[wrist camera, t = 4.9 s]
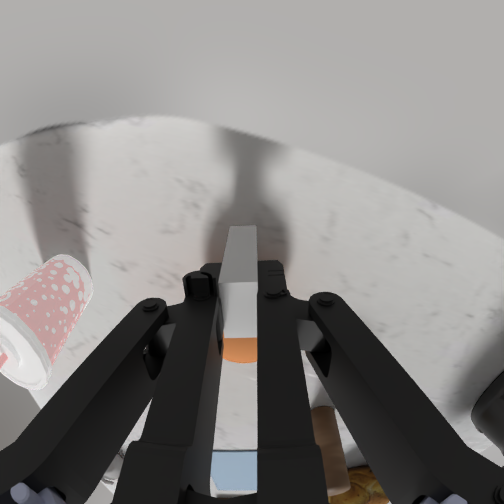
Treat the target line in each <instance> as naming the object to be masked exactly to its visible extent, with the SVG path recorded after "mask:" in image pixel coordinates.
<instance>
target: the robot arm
mask: <svg viewBox="0 0 504 504" xmlns="http://www.w3.org/2000/svg"><path fill="white" fill-rule="evenodd" d="M182 279H183V285H184V291H185V299H184V302H183V303H180V304H176V305H172V306H167V305H166V302H165V301H164V300H163V299H160V298H148V299H145V300H143V301H141V302H139V303H138V304H137V305H136V306H135V307H134V308H133V309H132V310H131V311H130V312H129V313H128V314H127V315H126V316H125V317H124V318H123V319H122V321H121V322H120V323H119V324H118V325H117V326H116V327H115V328H114V329H113V330H112V331H111V332H110V333H109V334H108V335H107V337H106V338H105V339H104V340H103V341H102V342H101V343H100V344H99V345H98V346H97V347H96V348H95V350H94V351H93V352H92V353H91V354H90V355H89V356H88V357H87V358H86V359H85V361H84V362H83V363H82V364H81V365H80V366H79V367H78V368H77V369H76V371H75V372H74V373H73V374H72V375H71V376H70V377H69V378H68V380H67V381H66V382H65V383H64V384H63V385H62V386H61V388H60V389H59V390H58V391H57V392H56V393H55V394H54V396H53V397H52V398H51V399H50V400H49V401H48V403H47V404H46V405H45V406H44V407H43V408H42V410H41V411H40V412H39V413H38V414H37V416H36V417H35V418H34V419H33V420H32V421H31V423H30V424H29V425H28V426H27V428H26V429H25V430H24V431H23V432H22V434H21V435H20V436H19V437H18V439H17V440H16V441H15V442H14V443H12V444H11V445H9V446H8V447H6V448H5V449H3V450H1V451H0V504H84V503H85V502H86V501H87V500H88V498H89V497H90V496H91V494H92V493H93V491H94V490H95V488H96V487H97V485H98V483H99V482H100V480H101V479H102V477H103V475H104V474H105V472H106V471H107V469H108V467H109V466H110V464H111V463H112V461H113V459H114V458H115V456H116V455H117V453H118V451H119V450H120V448H121V447H122V445H123V443H124V442H125V440H126V439H127V437H128V435H129V434H130V432H131V431H132V429H133V427H134V426H135V424H136V423H137V421H138V419H139V418H140V416H141V415H142V413H143V412H144V410H145V408H146V407H147V405H148V404H149V402H150V400H151V399H152V401H151V405H150V408H149V411H148V415H147V418H146V422H145V425H144V429H143V432H142V435H141V438H140V439H139V440H138V441H132V442H131V443H130V444H129V446H128V448H127V451H126V454H125V457H124V461H123V464H122V468H121V471H120V475H119V478H118V482H117V486H116V490H115V493H114V497H113V501H112V503H111V504H331V503H329V500H328V492H327V485H326V479H325V472H324V465H323V459H322V453H321V449H320V446H319V445H317V444H316V442H315V437H314V430H313V424H312V417H311V411H310V404H309V398H308V392H307V386H306V380H305V374H304V368H303V362H302V356H301V350H305V353H306V356H307V358H308V360H309V361H310V363H311V365H312V367H313V368H314V370H315V372H316V374H317V375H318V377H319V379H320V381H321V383H322V384H323V386H324V388H325V390H326V391H327V393H328V395H329V397H330V398H331V400H332V402H333V404H334V405H335V407H336V409H337V411H338V412H339V414H340V416H341V418H342V419H343V421H344V423H345V425H346V426H347V428H348V430H349V432H350V433H351V435H352V437H353V439H354V440H355V442H356V444H357V446H358V447H359V449H360V451H361V453H362V454H363V456H364V458H365V460H366V461H367V463H368V465H369V467H370V468H371V470H372V472H373V474H374V475H375V477H376V479H377V481H378V482H379V484H380V486H381V488H382V489H383V491H384V493H385V494H386V496H387V497H388V499H389V500H390V502H391V503H392V504H504V466H503V467H500V466H498V465H496V464H495V463H493V462H491V461H490V460H488V459H487V458H485V457H483V456H482V455H480V454H479V453H477V452H475V451H474V450H472V449H471V448H469V447H467V446H466V444H465V443H464V442H463V440H462V439H461V438H460V437H459V435H458V434H457V433H456V432H455V430H454V429H453V428H452V427H451V425H450V424H449V423H448V422H447V420H446V419H445V418H444V417H443V415H442V414H441V413H440V412H439V411H438V409H437V408H436V407H435V406H434V404H433V403H432V402H431V401H430V400H429V398H428V397H427V396H426V395H425V394H424V392H423V391H422V390H421V389H420V388H419V386H418V385H417V384H416V383H415V382H414V380H413V379H412V378H411V377H410V376H409V375H408V373H407V372H406V371H405V370H404V369H403V367H402V366H401V365H400V364H399V363H398V362H397V360H396V359H395V358H394V357H393V356H392V355H391V353H390V352H389V351H388V350H387V349H386V348H385V347H384V345H383V344H382V343H381V342H380V341H379V340H378V338H377V337H376V336H375V335H374V334H373V333H372V332H371V330H370V329H369V328H368V327H367V326H366V325H365V324H364V323H363V321H362V320H361V319H360V318H359V317H358V316H357V315H356V314H355V312H354V311H353V310H352V309H351V308H350V307H349V306H348V305H347V303H346V302H345V301H344V300H343V299H342V298H341V297H340V296H338V295H337V294H334V293H331V292H319V293H316V294H313V295H312V296H311V297H310V299H309V301H304V300H299V299H296V298H294V297H292V296H291V295H290V292H289V290H287V286H286V280H285V275H284V270H283V265H282V264H281V263H280V262H279V261H278V260H267V261H258V257H257V231H256V225H244V226H230V229H229V233H228V238H227V242H226V247H225V252H224V257H223V261H222V263H206V264H205V265H204V266H203V267H201V268H200V271H194V272H191V273H188V274H187V275H185V276H184V277H183V278H182ZM223 331H224V338H253V337H257V404H258V448H257V493H253V494H249V495H244V496H239V497H234V498H229V499H218V498H215V497H211V494H210V474H211V463H212V453H213V443H214V433H215V423H216V413H217V404H218V394H219V385H220V376H221V367H222V358H223V349H224V343H223ZM145 347H146V349H145ZM144 349H145V350H144ZM152 397H153V398H152ZM471 419H472V421H473V423H474V425H475V427H476V429H477V430H478V431H479V432H480V433H484V435H485V436H486V437H487V438H488V439H489V440H490V441H492V442H493V443H494V444H495V445H496V446H497V447H498V448H499V449H500V450H501V452H502V454H503V456H504V372H503V373H502V374H501V375H500V376H499V377H498V378H497V379H496V380H495V381H494V382H493V383H492V384H491V385H490V386H489V388H488V389H487V390H486V391H485V392H484V394H483V395H482V396H481V398H480V399H479V400H478V402H477V403H476V405H475V407H474V409H473V411H472V414H471Z"/></svg>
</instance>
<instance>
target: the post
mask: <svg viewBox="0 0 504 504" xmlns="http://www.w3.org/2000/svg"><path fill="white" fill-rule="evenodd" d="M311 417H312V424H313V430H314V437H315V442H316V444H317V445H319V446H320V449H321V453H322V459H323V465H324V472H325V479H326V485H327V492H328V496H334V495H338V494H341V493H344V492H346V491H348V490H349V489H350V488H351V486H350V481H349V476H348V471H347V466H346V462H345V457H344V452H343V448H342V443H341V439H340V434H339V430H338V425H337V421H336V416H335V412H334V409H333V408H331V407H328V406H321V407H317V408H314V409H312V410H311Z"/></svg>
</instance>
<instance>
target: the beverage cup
mask: <svg viewBox="0 0 504 504" xmlns="http://www.w3.org/2000/svg"><path fill="white" fill-rule="evenodd" d="M93 290H94V289H93V284H92V279H91V277H90V275H89V273H88V271H87V269H86V268H85V267H84V266H83V265H82V264H81V263H80V262H79V261H78V260H76V259H75V258H73V257H71V256H69V255H62V254H59V255H57V256H55V257H52V258H51V259H50V260H48V261H47V262H45V263H44V264H43V265H41V266H40V267H38V268H37V269H36V270H34V271H33V272H32V273H30V274H29V275H28V276H26V277H25V278H24V279H22V280H21V281H20V282H19V283H17V284H16V285H15V286H13V287H12V288H11V289H10V290H8V291H7V292H6V293H5V294H3V295H2V296H1V297H0V372H1V373H2V374H3V375H4V376H6V377H7V378H9V379H10V380H12V381H13V382H14V383H16V384H17V385H19V386H22V387H24V388H27V389H29V390H41V389H42V388H43V387H45V386H46V385H47V383H48V378H49V377H50V376H51V371H52V365H53V363H54V361H55V359H56V358H57V356H58V354H59V352H60V350H61V348H62V347H63V345H64V343H65V341H66V340H67V338H68V336H69V334H70V333H71V331H72V329H73V328H74V326H75V324H76V322H77V321H78V319H79V317H80V316H81V314H82V312H83V311H84V309H85V308H86V306H87V304H88V303H89V301H90V300H91V298H92V294H93Z"/></svg>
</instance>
